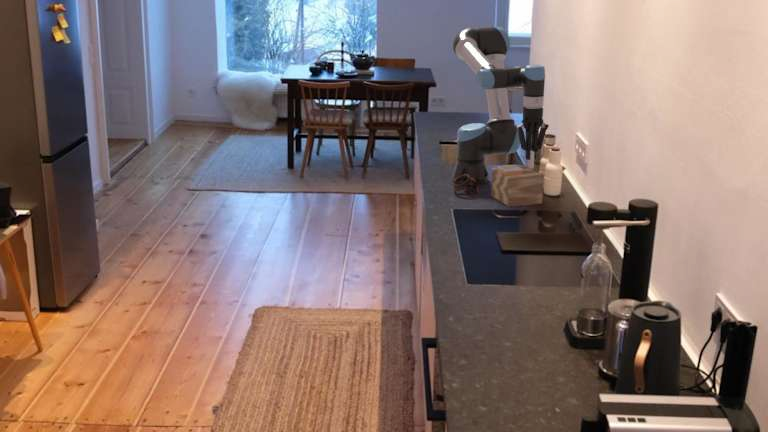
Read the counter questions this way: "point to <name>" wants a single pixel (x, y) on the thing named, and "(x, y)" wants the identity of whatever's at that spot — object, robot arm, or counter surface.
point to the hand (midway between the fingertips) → (530, 167)
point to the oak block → (517, 187)
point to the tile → (510, 170)
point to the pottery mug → (465, 183)
